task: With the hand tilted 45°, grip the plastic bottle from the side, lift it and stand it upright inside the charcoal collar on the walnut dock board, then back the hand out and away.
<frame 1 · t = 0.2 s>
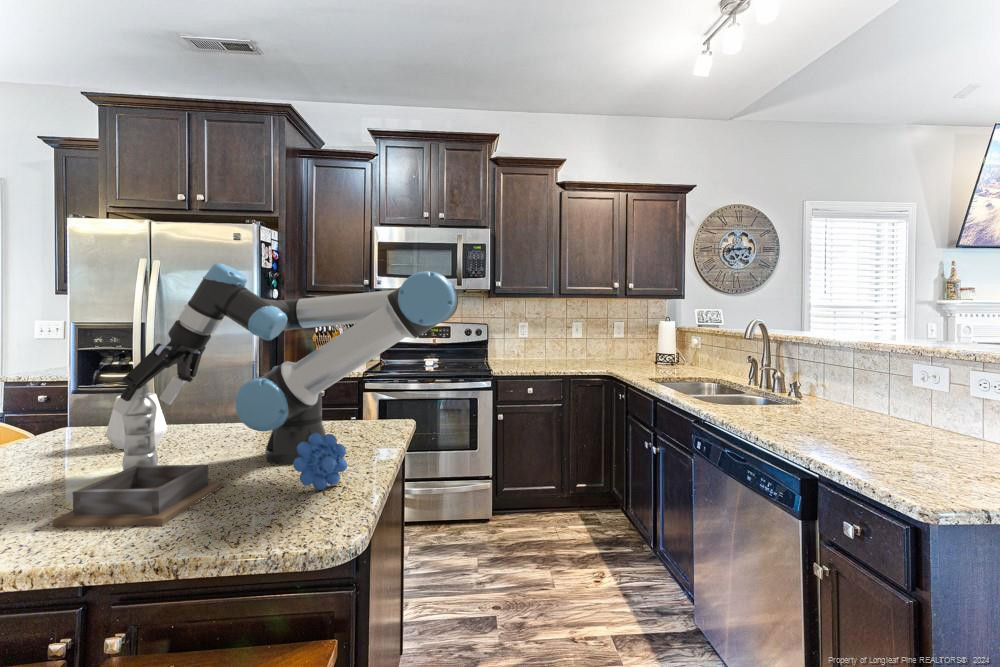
hand: (143, 406, 104), 15 cm above the countertop, tool tilted 35°, fingers open, 13 cm apart
bottle dock: (146, 504, 87), on the countertop
blue bumpy flower: (324, 491, 94), on the countertop
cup: (137, 446, 128), on the countertop
plastic bottle: (140, 474, 105), on the countertop
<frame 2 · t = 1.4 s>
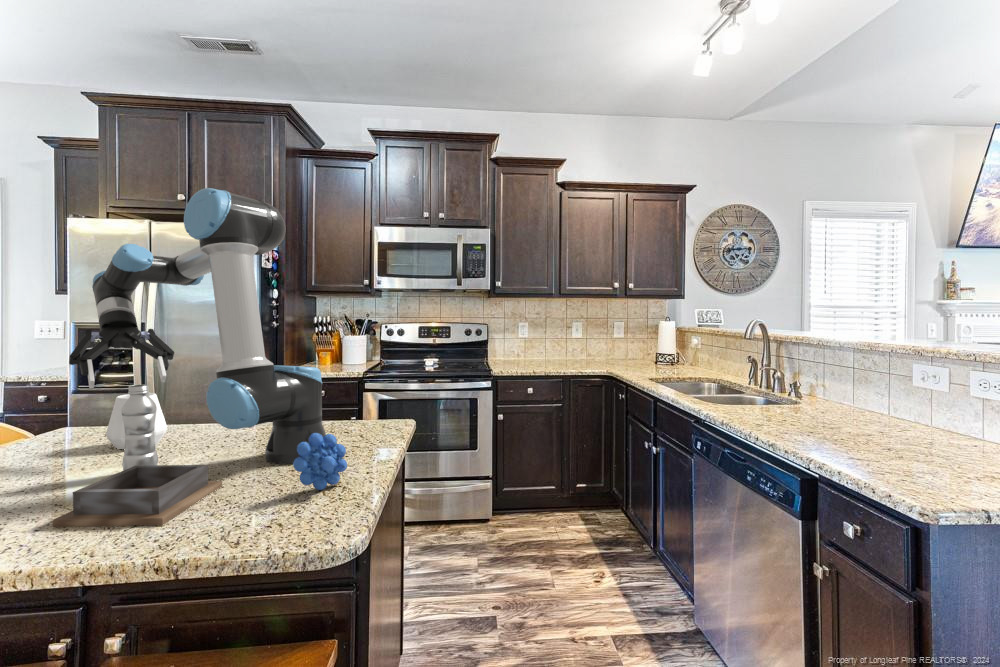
hand: (129, 381, 111), 20 cm above the countertop, tool tilted 45°, fingers open, 13 cm apart
nothing on the countertop moved.
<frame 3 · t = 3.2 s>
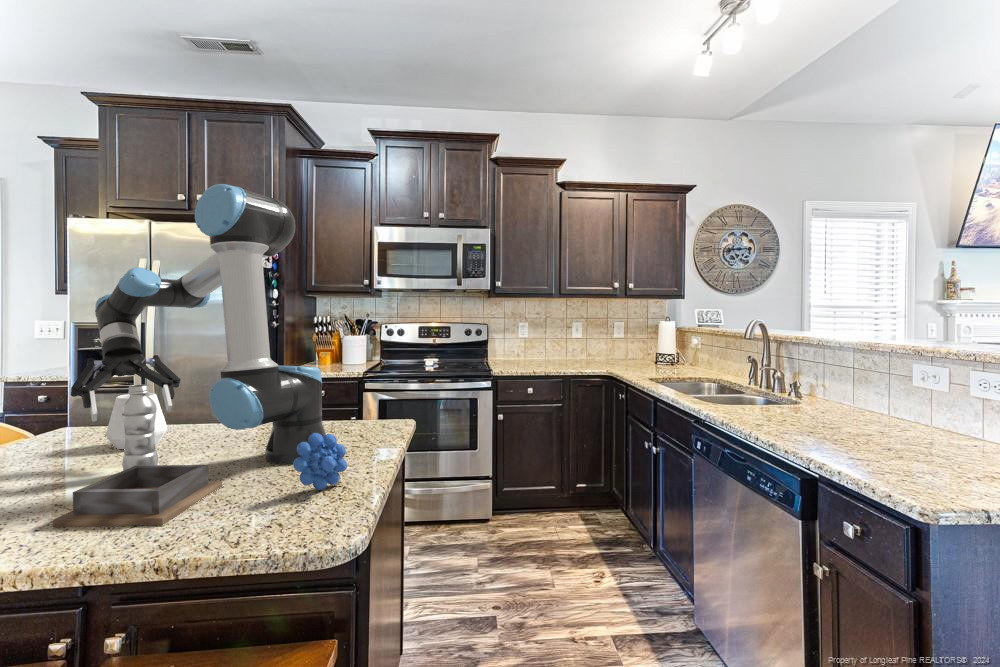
hand: (134, 413, 106), 13 cm above the countertop, tool tilted 45°, fingers open, 13 cm apart
nothing on the countertop moved.
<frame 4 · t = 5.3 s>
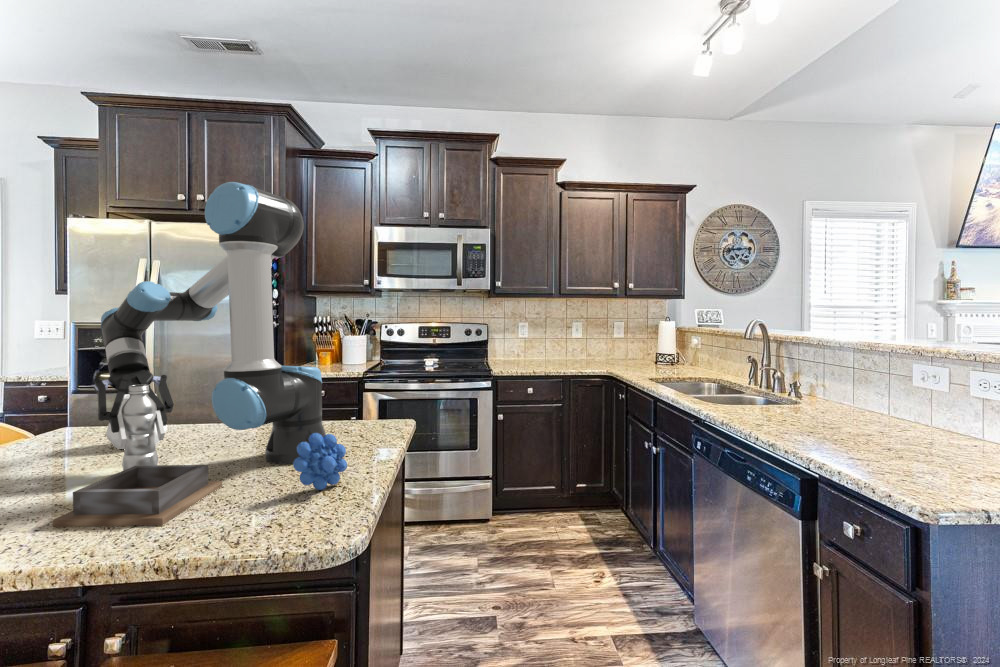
hand: (143, 439, 102), 8 cm above the countertop, tool tilted 45°, fingers closed on plastic bottle, 6 cm apart
plastic bottle: (140, 474, 105), on the countertop, touching gripper
everything else where it was.
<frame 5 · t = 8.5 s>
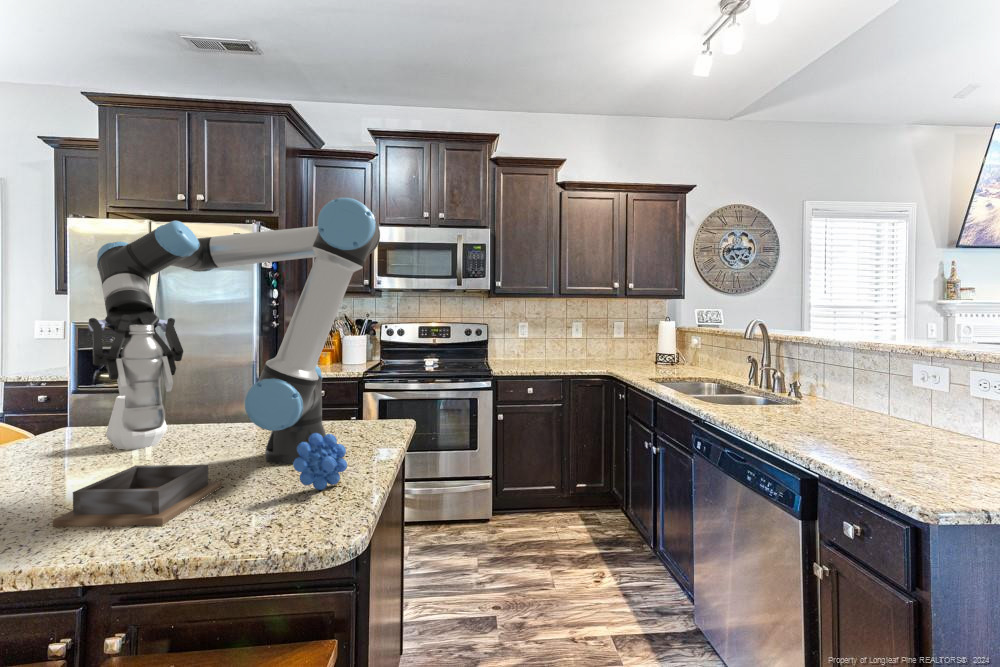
hand: (147, 388, 84), 22 cm above the countertop, tool tilted 45°, fingers closed on plastic bottle, 6 cm apart
plastic bottle: (144, 432, 87), point 14 cm above the countertop, touching gripper
everything else where it was.
when the fingers open (11 cm above the countertop, at t = 11.6 s): plastic bottle drops 1 cm, resting on bottle dock.
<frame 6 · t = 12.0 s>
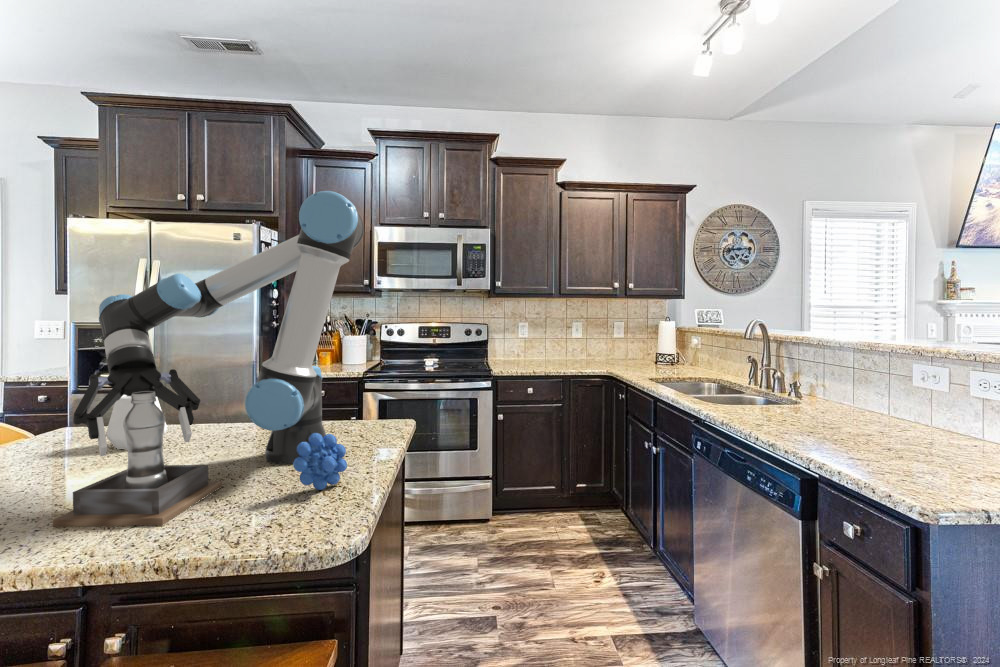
hand: (148, 444, 85), 12 cm above the countertop, tool tilted 45°, fingers open, 12 cm apart
plastic bottle: (147, 498, 87), point 1 cm above the countertop, touching bottle dock
everything else where it was.
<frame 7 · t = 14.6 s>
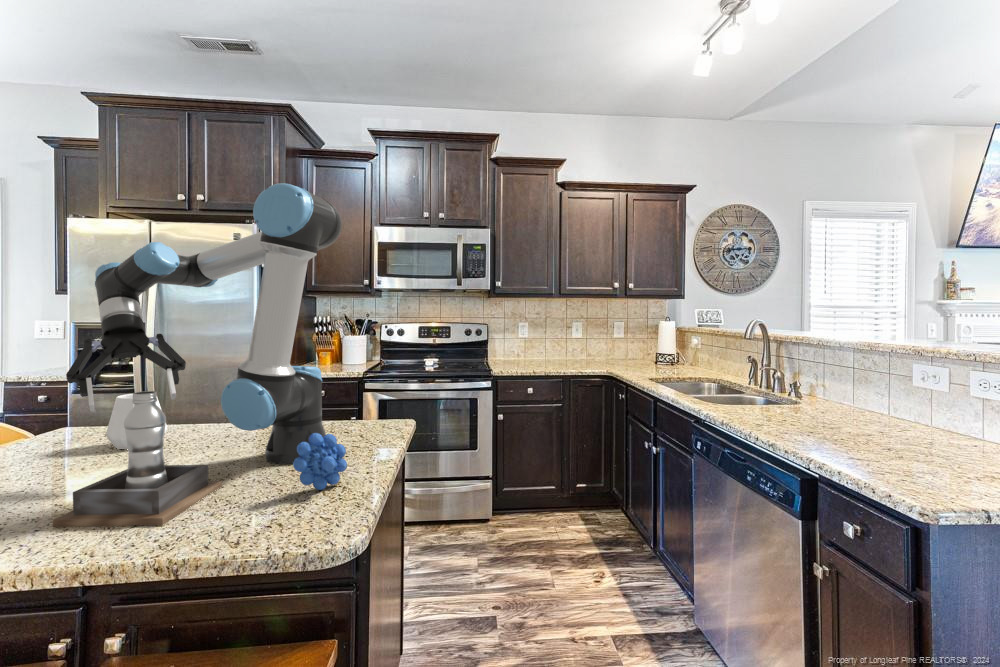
hand: (134, 402, 98), 17 cm above the countertop, tool tilted 35°, fingers open, 13 cm apart
nothing on the countertop moved.
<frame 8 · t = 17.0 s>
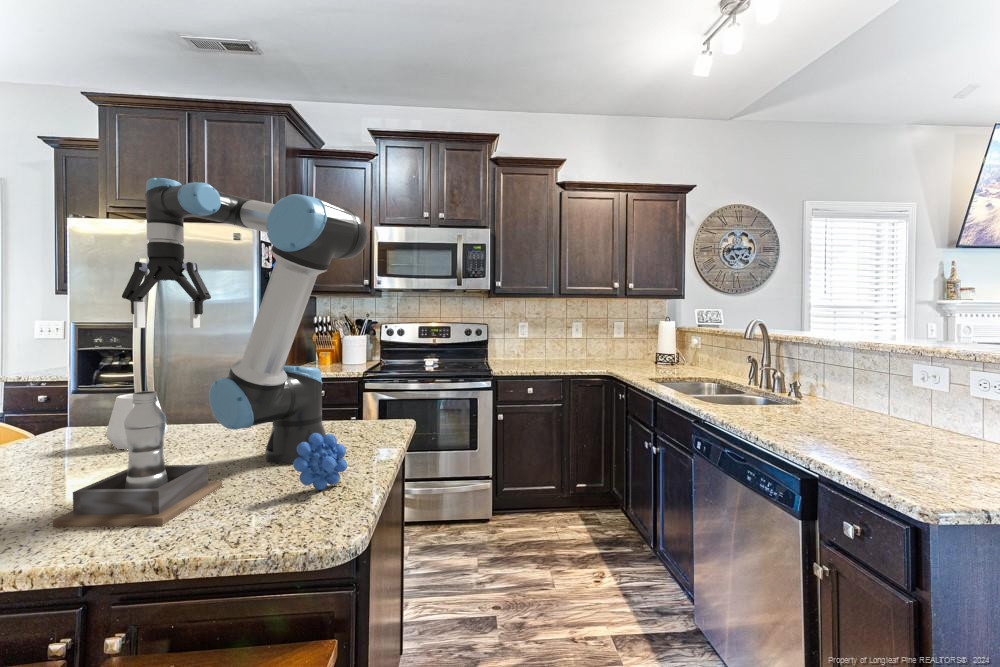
hand: (167, 327, 117), 33 cm above the countertop, tool pointing down, fingers open, 13 cm apart
nothing on the countertop moved.
at the end: plastic bottle inside the target area on the bottle dock (0.2 cm from its centre), point 1.0 cm above the bottle dock's base; plastic bottle tilted 0°; the gripper is holding nothing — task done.
